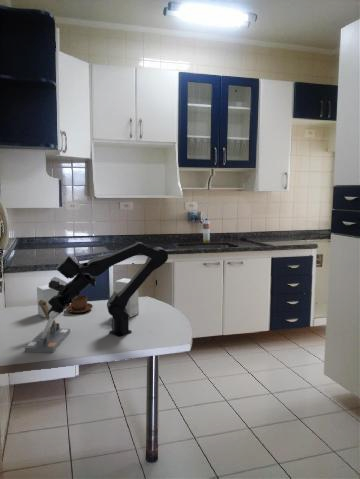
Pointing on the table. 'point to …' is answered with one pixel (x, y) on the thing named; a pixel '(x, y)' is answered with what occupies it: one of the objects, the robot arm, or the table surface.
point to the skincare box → (133, 301)
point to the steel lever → (48, 324)
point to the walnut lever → (46, 311)
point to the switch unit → (48, 340)
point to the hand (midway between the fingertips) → (49, 313)
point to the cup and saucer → (79, 305)
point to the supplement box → (45, 297)
